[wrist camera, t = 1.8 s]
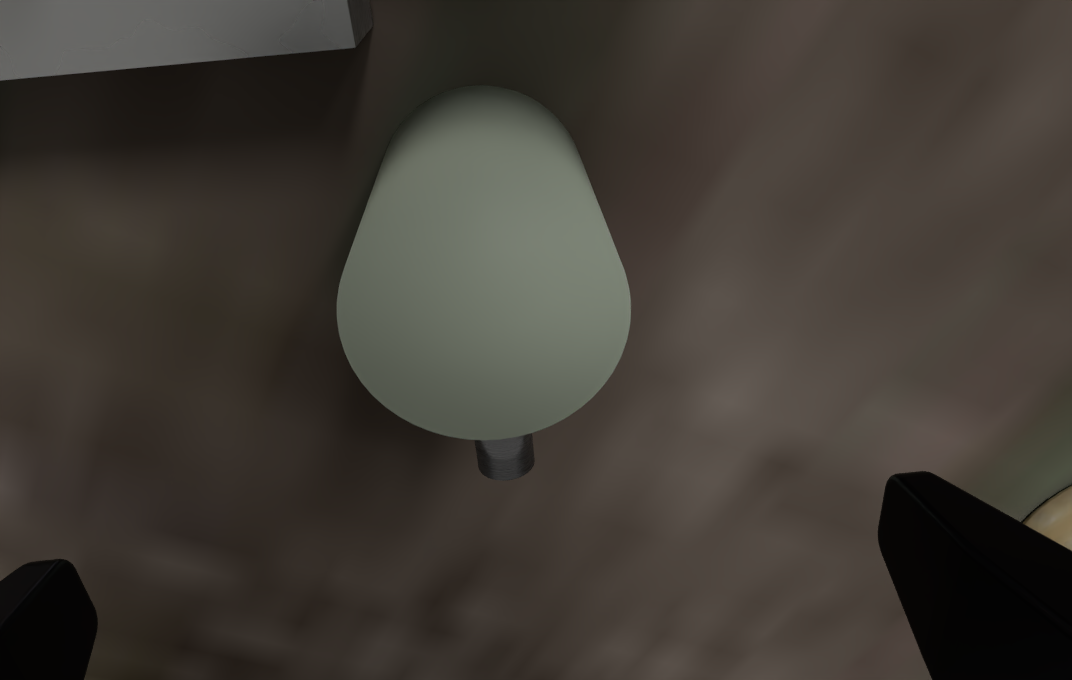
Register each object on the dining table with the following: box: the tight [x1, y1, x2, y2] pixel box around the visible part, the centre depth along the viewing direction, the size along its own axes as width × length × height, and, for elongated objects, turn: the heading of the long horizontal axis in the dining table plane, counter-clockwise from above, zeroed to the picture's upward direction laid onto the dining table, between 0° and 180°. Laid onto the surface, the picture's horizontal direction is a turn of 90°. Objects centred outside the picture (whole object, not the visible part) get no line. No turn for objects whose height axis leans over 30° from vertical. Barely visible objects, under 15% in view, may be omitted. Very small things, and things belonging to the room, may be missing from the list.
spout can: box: [337, 85, 631, 480], centre depth 17 cm, size 5×7×7 cm
